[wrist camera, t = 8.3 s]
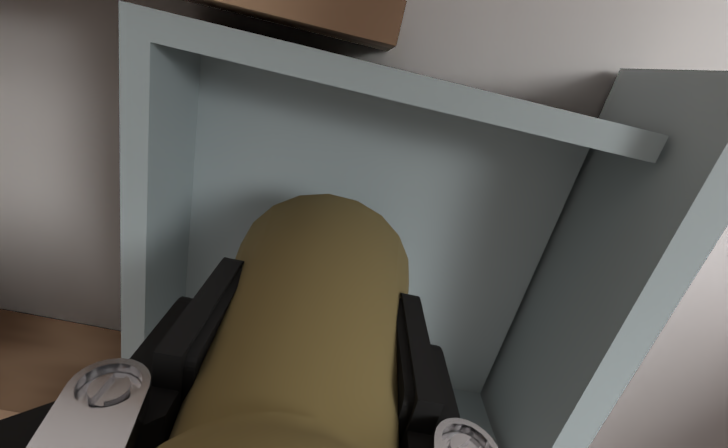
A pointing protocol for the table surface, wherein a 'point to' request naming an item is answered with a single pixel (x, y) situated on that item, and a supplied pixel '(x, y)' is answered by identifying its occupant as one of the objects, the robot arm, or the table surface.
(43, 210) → the table surface
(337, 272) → the cork
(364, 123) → the tray
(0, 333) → the frame
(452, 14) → the table surface
